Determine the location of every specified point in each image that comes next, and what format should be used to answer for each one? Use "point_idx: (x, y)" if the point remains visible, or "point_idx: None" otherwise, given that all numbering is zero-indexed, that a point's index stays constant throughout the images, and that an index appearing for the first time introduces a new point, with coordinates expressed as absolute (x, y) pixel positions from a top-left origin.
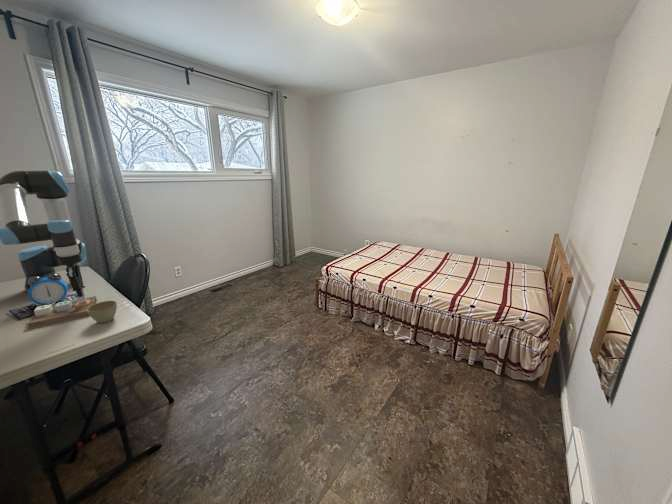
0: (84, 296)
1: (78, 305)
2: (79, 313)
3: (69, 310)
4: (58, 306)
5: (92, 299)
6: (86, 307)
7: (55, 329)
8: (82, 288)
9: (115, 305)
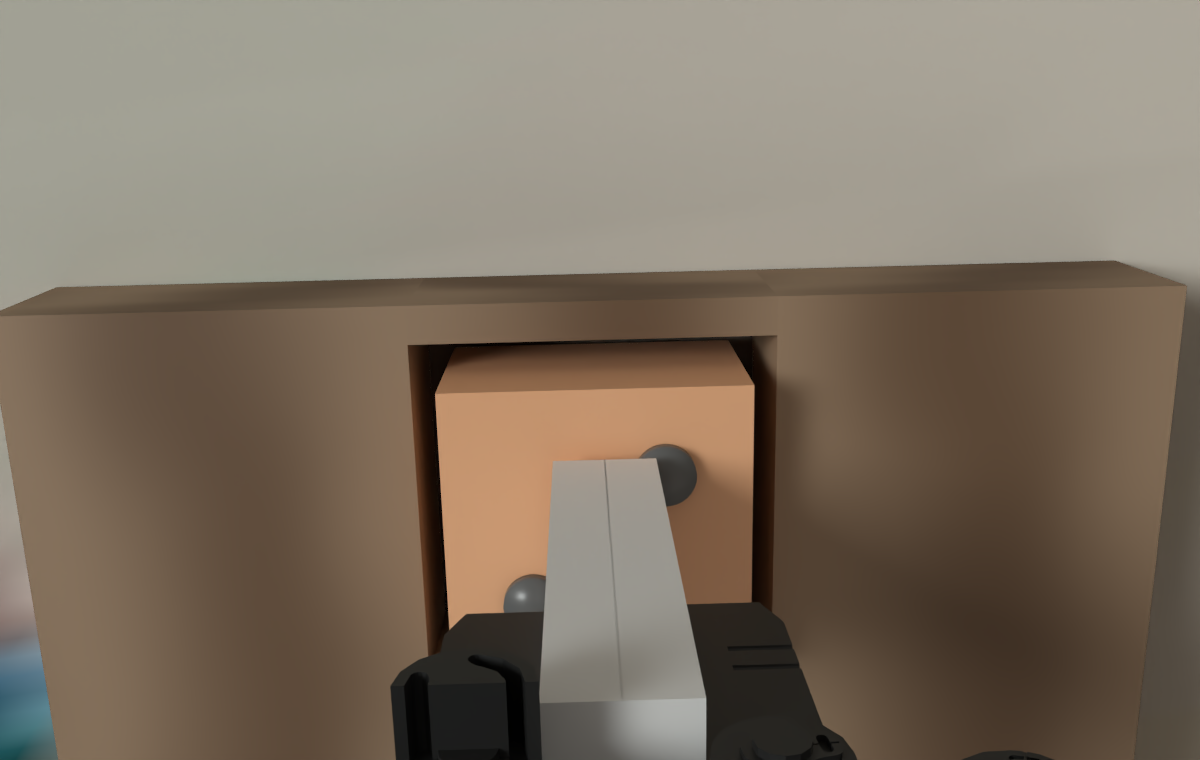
0: (669, 547)
1: None
2: (1146, 506)
3: None
4: None
5: (290, 361)
6: (899, 410)
7: None
8: (573, 730)
9: None
